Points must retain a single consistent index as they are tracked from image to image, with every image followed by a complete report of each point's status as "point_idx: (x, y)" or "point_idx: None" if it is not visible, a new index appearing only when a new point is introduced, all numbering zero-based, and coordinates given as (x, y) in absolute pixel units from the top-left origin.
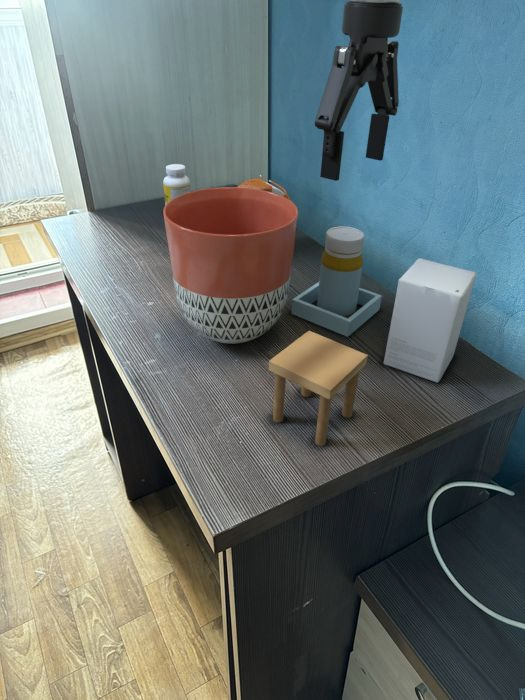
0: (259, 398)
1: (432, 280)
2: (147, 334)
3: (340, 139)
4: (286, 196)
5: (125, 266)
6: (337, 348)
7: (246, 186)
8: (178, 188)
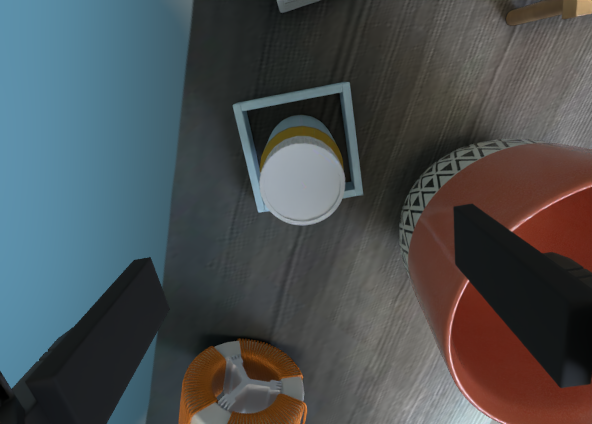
0: (561, 58)
1: None
2: None
3: (573, 278)
4: (193, 408)
5: (430, 409)
6: None
7: None
8: None
